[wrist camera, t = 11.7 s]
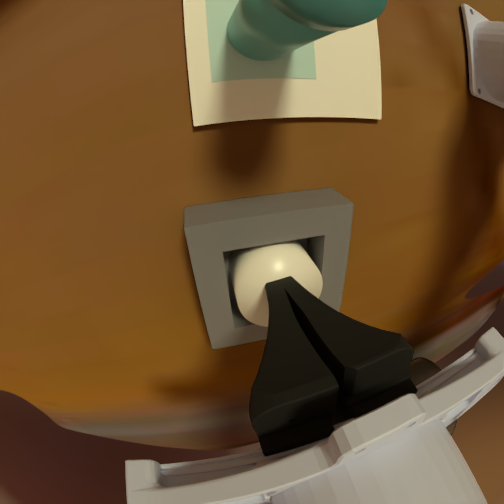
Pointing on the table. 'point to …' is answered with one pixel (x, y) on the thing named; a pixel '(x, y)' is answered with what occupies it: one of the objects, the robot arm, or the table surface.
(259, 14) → the teal marker
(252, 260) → the button
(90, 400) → the table surface
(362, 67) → the paper sheet
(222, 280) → the button box
